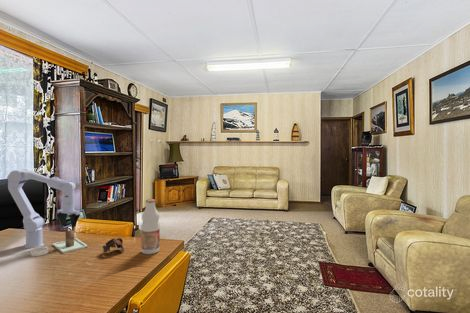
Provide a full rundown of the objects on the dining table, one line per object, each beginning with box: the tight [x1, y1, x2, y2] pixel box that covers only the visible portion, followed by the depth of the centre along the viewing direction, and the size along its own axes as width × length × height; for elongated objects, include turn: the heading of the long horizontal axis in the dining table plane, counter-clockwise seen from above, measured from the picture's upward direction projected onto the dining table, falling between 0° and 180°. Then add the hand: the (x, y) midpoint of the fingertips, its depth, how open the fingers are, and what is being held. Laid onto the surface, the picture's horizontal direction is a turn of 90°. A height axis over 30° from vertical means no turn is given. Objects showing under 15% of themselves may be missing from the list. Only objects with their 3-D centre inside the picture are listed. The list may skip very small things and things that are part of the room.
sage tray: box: [52, 237, 89, 254], centre depth 145 cm, size 18×12×2 cm, turn 49°
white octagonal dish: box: [29, 246, 49, 257], centre depth 134 cm, size 7×7×2 cm
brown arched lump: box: [102, 237, 125, 254], centre depth 139 cm, size 12×10×8 cm
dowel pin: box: [65, 229, 75, 247], centre depth 145 cm, size 4×4×8 cm
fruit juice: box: [140, 198, 161, 255], centre depth 140 cm, size 9×9×28 cm
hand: (68, 226), depth 150 cm, fingers open, 7 cm apart
